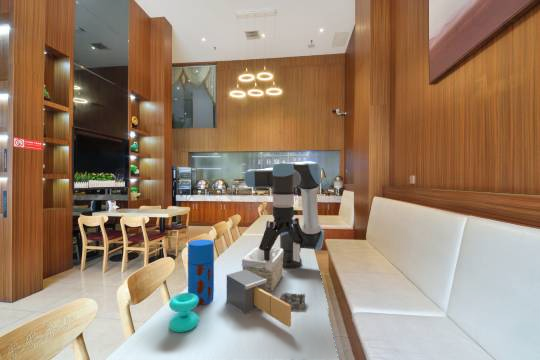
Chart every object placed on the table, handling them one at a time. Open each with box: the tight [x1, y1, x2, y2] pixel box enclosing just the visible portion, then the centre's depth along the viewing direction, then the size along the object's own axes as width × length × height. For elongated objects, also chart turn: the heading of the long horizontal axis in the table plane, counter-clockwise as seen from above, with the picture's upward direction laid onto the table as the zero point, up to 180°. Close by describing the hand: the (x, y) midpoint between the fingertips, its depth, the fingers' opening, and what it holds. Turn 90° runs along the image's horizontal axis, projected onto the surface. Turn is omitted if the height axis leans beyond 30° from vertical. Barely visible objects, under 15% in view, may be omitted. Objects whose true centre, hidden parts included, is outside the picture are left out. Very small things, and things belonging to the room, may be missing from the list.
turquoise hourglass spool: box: [168, 292, 200, 333], centre depth 91 cm, size 10×10×10 cm
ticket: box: [253, 286, 292, 328], centre depth 95 cm, size 22×1×7 cm, turn 40°
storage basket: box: [241, 246, 284, 292], centre depth 129 cm, size 24×16×15 cm
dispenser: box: [226, 269, 267, 315], centre depth 106 cm, size 15×10×11 cm, turn 40°
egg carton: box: [279, 291, 306, 310], centre depth 106 cm, size 11×8×4 cm
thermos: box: [187, 239, 215, 307], centre depth 110 cm, size 11×11×25 cm
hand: (283, 265), depth 91 cm, fingers open, 13 cm apart
